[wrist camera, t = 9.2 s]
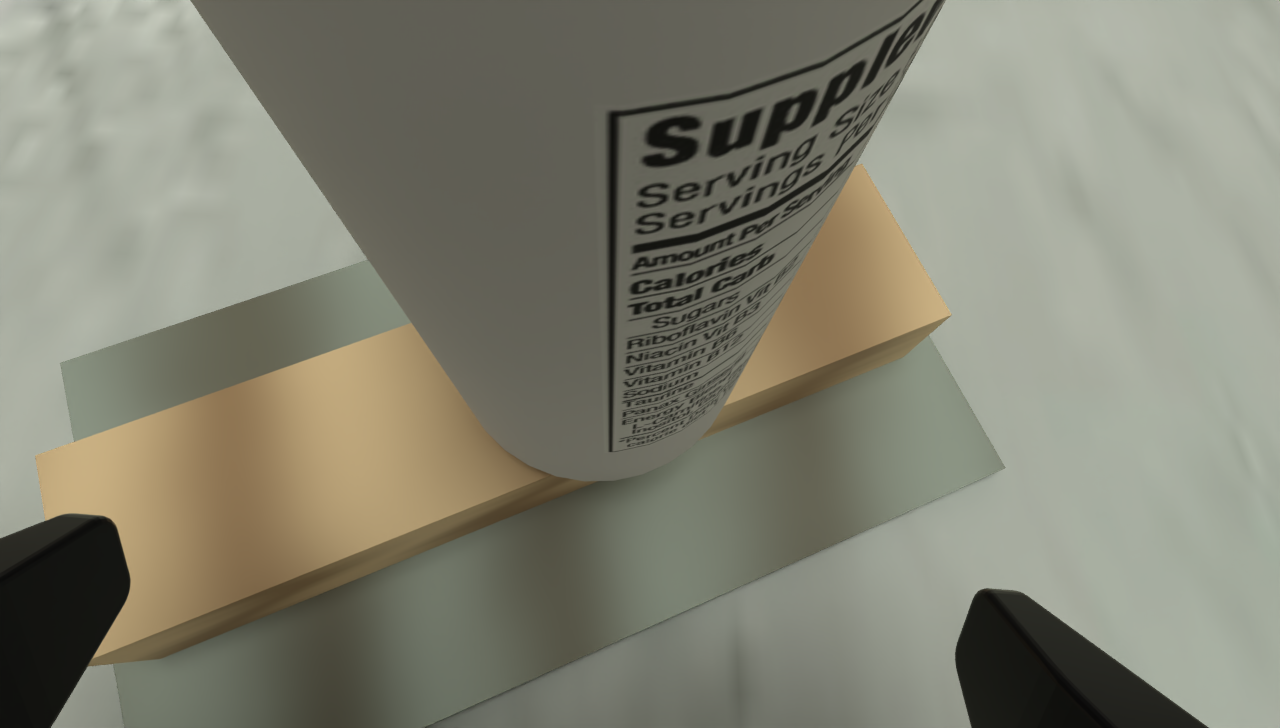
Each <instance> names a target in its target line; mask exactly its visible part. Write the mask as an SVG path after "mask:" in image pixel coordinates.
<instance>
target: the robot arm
mask: <svg viewBox="0 0 1280 728" xmlns="http://www.w3.org/2000/svg"><path fill="white" fill-rule="evenodd" d="M130 584H131V578H130V573H129V569H128V566H127V562H126V558H125V555H124V551H123V547H122V544H121V540H120V536H119V533H118V529H117V527H116V524H115V523H114V522H113V521H112V520H111V519H110V518H108V517H105V516H101V515H89V514H77V513H68V514H62V515H59V516H56V517H54V518H51V519H49V520H46V521H44V522H41V523H38V524H36V525H33V526H31V527H28V528H26V529H23V530H21V531H18V532H16V533H13V534H10V535H8V536H5V537H3V538H0V728H51V726H52V725H53V723H54V722H55V720H56V718H57V717H58V715H59V713H60V712H61V710H62V708H63V707H64V705H65V703H66V702H67V700H68V698H69V697H70V695H71V693H72V691H73V690H74V688H75V686H76V685H77V683H78V681H79V680H80V678H81V676H82V675H83V673H84V671H85V670H86V668H87V666H88V665H89V663H90V661H91V660H92V658H93V656H94V655H95V653H96V651H97V650H98V648H99V646H100V644H101V643H102V641H103V639H104V638H105V636H106V634H107V633H108V631H109V629H110V628H111V626H112V624H113V623H114V621H115V619H116V618H117V616H118V614H119V613H120V611H121V609H122V608H123V606H124V604H125V602H126V600H127V597H128V594H129V591H130ZM955 662H956V669H957V673H958V677H959V681H960V685H961V689H962V693H963V697H964V700H965V704H966V708H967V712H968V716H969V720H970V724H971V727H972V728H1208V727H1207V726H1206V725H1204V724H1203V723H1202V722H1200V721H1199V720H1197V719H1196V718H1195V717H1193V716H1192V715H1191V714H1189V713H1188V712H1186V711H1185V710H1184V709H1182V708H1181V707H1180V706H1178V705H1177V704H1175V703H1174V702H1173V701H1171V700H1170V699H1169V698H1167V697H1166V696H1164V695H1163V694H1162V693H1160V692H1159V691H1158V690H1156V689H1155V688H1153V687H1152V686H1151V685H1149V684H1148V683H1146V682H1145V681H1144V680H1142V679H1141V678H1140V677H1138V676H1137V675H1135V674H1134V673H1133V672H1131V671H1130V670H1129V669H1127V668H1126V667H1124V666H1123V665H1122V664H1120V663H1119V662H1118V661H1116V660H1115V659H1113V658H1112V657H1111V656H1109V655H1108V654H1107V653H1105V652H1104V651H1102V650H1101V649H1100V648H1098V647H1097V646H1096V645H1094V644H1093V643H1091V642H1090V641H1089V640H1087V639H1086V638H1085V637H1083V636H1082V635H1080V634H1079V633H1078V632H1076V631H1075V630H1074V629H1072V628H1071V627H1069V626H1068V625H1067V624H1065V623H1064V622H1063V621H1061V620H1060V619H1058V618H1057V617H1056V616H1054V615H1053V614H1052V613H1050V612H1049V611H1047V610H1046V609H1045V608H1043V607H1042V606H1041V605H1039V604H1038V603H1036V602H1035V601H1034V600H1032V599H1031V598H1030V597H1028V596H1027V595H1025V594H1024V593H1021V592H1018V591H1013V590H1001V589H989V588H986V589H982V590H980V591H978V592H977V593H976V595H975V596H974V598H973V600H972V603H971V606H970V609H969V611H968V614H967V617H966V620H965V622H964V625H963V628H962V631H961V634H960V636H959V639H958V642H957V646H956V652H955Z"/></svg>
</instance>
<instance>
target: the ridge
mask: <svg viewBox="0 0 1280 728" xmlns="http://www.w3.org/2000/svg"><path fill="white" fill-rule="evenodd" d="M950 316H951V313H950V311H949V309H948V308H947V306H946V304H945V303H944V301H943V299H942V298H941V296H940V294H939V293H938V291H937V289H936V288H935V286H934V284H933V282H932V281H931V279H930V277H929V276H928V274H927V272H926V271H925V269H924V267H923V266H922V264H921V262H920V261H919V259H918V257H917V256H916V254H915V252H914V250H913V249H912V247H911V245H910V244H909V242H908V240H907V239H906V237H905V235H904V234H903V232H902V230H901V229H900V227H899V225H898V223H897V222H896V220H895V218H894V217H893V215H892V213H891V212H890V210H889V208H888V207H887V205H886V203H885V202H884V200H883V198H882V196H881V195H880V193H879V191H878V190H877V188H876V186H875V185H874V183H873V181H872V180H871V178H870V176H869V175H868V173H867V171H866V169H865V168H864V166H863V164H860V165H857V166H855V167H854V169H853V171H852V173H851V174H850V176H849V178H848V180H847V182H846V184H845V185H844V187H843V189H842V191H841V193H840V195H839V196H838V198H837V200H836V202H835V204H834V205H833V207H832V209H831V211H830V213H829V215H828V216H827V218H826V220H825V222H824V224H823V226H822V227H821V229H820V231H819V233H818V235H817V237H816V238H815V240H814V242H813V244H812V246H811V248H810V249H809V251H808V253H807V255H806V257H805V258H804V260H803V262H802V264H801V266H800V268H799V269H798V271H797V273H796V275H795V277H794V279H793V280H792V282H791V284H790V286H789V288H788V290H787V291H786V293H785V295H784V297H783V299H782V301H781V302H780V304H779V306H778V308H777V310H776V311H775V313H774V315H773V317H772V319H771V321H770V322H769V324H768V326H767V328H766V330H765V332H764V333H763V335H762V337H761V339H760V341H759V343H758V344H757V346H756V348H755V350H754V352H753V354H752V355H751V357H750V359H749V361H748V363H747V364H746V366H745V368H744V370H743V372H742V374H741V375H740V377H739V379H738V381H737V383H736V385H735V386H734V388H733V390H732V392H731V394H730V396H729V397H728V399H727V401H726V403H725V405H724V406H723V408H722V409H721V411H720V413H719V414H718V416H717V418H716V419H715V421H714V422H713V424H712V426H711V427H710V428H709V429H708V430H707V431H706V432H705V433H704V435H703V436H702V437H701V438H700V439H699V440H698V441H697V442H696V443H695V444H694V445H693V446H692V447H691V448H689V449H688V450H687V451H685V452H684V453H682V454H681V455H679V456H678V457H677V458H675V459H674V460H672V461H671V462H669V463H668V464H665V465H663V466H661V467H658V468H656V469H654V470H652V471H649V472H647V473H645V474H642V475H638V476H633V477H629V478H624V479H620V480H615V481H580V480H574V479H569V478H563V477H557V476H554V475H551V474H549V473H546V472H544V471H541V470H539V469H536V468H534V467H531V466H529V465H527V464H526V463H524V462H522V461H521V460H519V459H518V458H516V457H515V456H513V455H512V454H510V453H509V452H507V451H506V450H504V449H503V448H502V447H501V446H500V445H499V444H498V443H497V442H496V441H495V440H494V439H493V438H492V437H491V436H490V435H489V434H488V433H487V432H486V431H485V430H484V428H483V427H482V425H481V424H480V422H479V421H478V419H477V418H476V416H475V415H474V413H473V412H472V411H471V409H470V408H469V406H468V405H467V403H466V402H465V400H464V399H463V397H462V396H461V395H460V393H459V392H458V390H457V389H456V387H455V386H454V384H453V383H452V381H451V380H450V378H449V377H448V376H447V374H446V373H445V371H444V370H443V368H442V367H441V365H440V364H439V362H438V361H437V359H436V358H435V357H434V355H433V354H432V352H431V351H430V349H429V348H428V346H427V345H426V343H425V342H424V341H423V339H422V338H421V336H420V335H419V333H418V332H417V330H416V329H415V327H414V326H413V324H412V323H411V322H410V320H409V319H408V317H407V316H406V314H405V313H404V311H403V310H402V308H401V307H400V305H399V304H398V303H397V301H396V300H395V298H394V297H393V295H392V294H391V292H390V291H389V289H388V288H387V287H386V285H385V284H384V282H383V281H382V279H381V278H380V276H379V275H378V273H377V272H376V270H375V269H374V268H373V266H372V265H371V263H370V262H369V260H366V261H363V262H360V263H357V264H354V265H351V266H348V267H345V268H342V269H339V270H336V271H333V272H330V273H327V274H324V275H321V276H318V277H315V278H312V279H309V280H306V281H303V282H300V283H297V284H294V285H291V286H288V287H285V288H282V289H280V290H277V291H274V292H271V293H268V294H265V295H262V296H259V297H256V298H253V299H250V300H247V301H244V302H241V303H238V304H235V305H232V306H229V307H226V308H223V309H220V310H217V311H214V312H211V313H208V314H205V315H202V316H199V317H196V318H193V319H190V320H187V321H184V322H181V323H178V324H175V325H172V326H169V327H166V328H163V329H160V330H157V331H154V332H151V333H148V334H145V335H142V336H139V337H136V338H133V339H130V340H128V341H125V342H122V343H119V344H116V345H113V346H110V347H107V348H104V349H101V350H98V351H95V352H92V353H89V354H86V355H83V356H80V357H77V358H74V359H71V360H68V361H65V362H62V363H60V365H61V370H62V376H63V382H64V387H65V393H66V399H67V404H68V410H69V416H70V421H71V427H72V433H73V438H74V442H72V443H70V444H67V445H64V446H61V447H58V448H55V449H53V450H50V451H47V452H44V453H41V454H38V455H36V456H35V457H36V464H37V470H38V476H39V483H40V489H41V495H42V502H43V508H44V514H45V521H46V520H49V519H51V518H54V517H56V516H59V515H62V514H68V513H77V514H89V515H101V516H105V517H108V518H110V519H111V520H112V521H113V522H114V523H115V524H116V527H117V529H118V533H119V536H120V540H121V544H122V547H123V551H124V555H125V558H126V562H127V566H128V569H129V573H130V578H131V584H130V591H129V594H128V597H127V600H126V602H125V604H124V606H123V608H122V609H121V611H120V613H119V614H118V616H117V618H116V619H115V621H114V623H113V624H112V626H111V628H110V629H109V631H108V633H107V634H106V636H105V638H104V639H103V641H102V643H101V644H100V646H99V648H98V650H97V651H96V653H95V655H94V656H93V658H92V660H91V661H90V663H89V665H88V666H97V665H106V664H113V665H114V671H115V676H116V682H117V688H118V693H119V699H120V705H121V710H122V716H123V722H124V727H125V728H424V727H426V726H429V725H431V724H433V723H435V722H438V721H440V720H442V719H444V718H447V717H449V716H451V715H453V714H456V713H458V712H460V711H462V710H465V709H467V708H469V707H471V706H473V705H476V704H478V703H480V702H482V701H485V700H487V699H489V698H491V697H494V696H496V695H498V694H500V693H503V692H505V691H507V690H509V689H512V688H514V687H516V686H518V685H521V684H523V683H525V682H527V681H530V680H532V679H534V678H536V677H538V676H541V675H543V674H545V673H547V672H550V671H552V670H554V669H556V668H559V667H561V666H563V665H565V664H568V663H570V662H572V661H574V660H577V659H579V658H581V657H583V656H586V655H588V654H590V653H592V652H595V651H597V650H599V649H601V648H603V647H606V646H608V645H610V644H612V643H615V642H617V641H619V640H621V639H624V638H626V637H628V636H630V635H633V634H635V633H637V632H639V631H642V630H644V629H646V628H648V627H651V626H653V625H655V624H657V623H660V622H662V621H664V620H666V619H668V618H671V617H673V616H675V615H677V614H680V613H682V612H684V611H686V610H689V609H691V608H693V607H695V606H698V605H700V604H702V603H704V602H707V601H709V600H711V599H713V598H716V597H718V596H720V595H722V594H724V593H727V592H729V591H731V590H733V589H736V588H738V587H740V586H742V585H745V584H747V583H749V582H751V581H754V580H756V579H758V578H760V577H763V576H765V575H767V574H769V573H772V572H774V571H776V570H778V569H781V568H783V567H785V566H787V565H789V564H792V563H794V562H796V561H798V560H801V559H803V558H805V557H807V556H810V555H812V554H814V553H816V552H819V551H821V550H823V549H825V548H828V547H830V546H832V545H834V544H837V543H839V542H841V541H843V540H846V539H848V538H850V537H852V536H854V535H857V534H859V533H861V532H863V531H866V530H868V529H870V528H872V527H875V526H877V525H879V524H881V523H884V522H886V521H888V520H890V519H893V518H895V517H897V516H899V515H902V514H904V513H906V512H908V511H911V510H913V509H915V508H917V507H919V506H922V505H924V504H926V503H928V502H931V501H933V500H935V499H937V498H940V497H942V496H944V495H946V494H949V493H951V492H953V491H955V490H958V489H960V488H962V487H964V486H967V485H969V484H971V483H973V482H976V481H978V480H980V479H982V478H984V477H987V476H989V475H991V474H993V473H996V472H998V471H1000V470H1002V469H1005V466H1004V465H1003V463H1002V461H1001V459H1000V458H999V456H998V454H997V452H996V451H995V449H994V447H993V445H992V444H991V442H990V440H989V439H988V437H987V435H986V433H985V432H984V430H983V428H982V426H981V425H980V423H979V421H978V419H977V418H976V416H975V414H974V413H973V411H972V409H971V407H970V406H969V404H968V402H967V400H966V399H965V397H964V395H963V393H962V392H961V390H960V388H959V387H958V385H957V383H956V381H955V380H954V378H953V376H952V374H951V373H950V371H949V369H948V367H947V366H946V364H945V362H944V361H943V359H942V357H941V355H940V354H939V352H938V350H937V348H936V347H935V345H934V343H933V341H932V340H931V338H930V336H929V334H930V333H932V332H933V331H934V330H935V329H936V328H937V327H938V326H940V325H941V324H942V323H943V322H944V321H945V320H946V319H948V318H949V317H950Z"/></svg>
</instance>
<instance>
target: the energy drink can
mask: <svg viewBox="0 0 1280 728" xmlns="http://www.w3.org/2000/svg"><path fill="white" fill-rule="evenodd" d="M945 1H946V0H191V2H192V3H193V5H194V6H195V8H196V9H197V11H198V12H199V14H200V15H201V16H202V18H203V19H204V21H205V22H206V24H207V25H208V27H209V28H210V30H211V31H212V33H213V34H214V35H215V37H216V38H217V40H218V41H219V43H220V44H221V46H222V47H223V49H224V50H225V52H226V53H227V54H228V56H229V57H230V59H231V60H232V62H233V63H234V65H235V66H236V68H237V69H238V70H239V72H240V73H241V75H242V76H243V78H244V79H245V81H246V82H247V84H248V85H249V87H250V88H251V89H252V91H253V92H254V94H255V95H256V97H257V98H258V100H259V101H260V103H261V104H262V106H263V107H264V108H265V110H266V111H267V113H268V114H269V116H270V117H271V119H272V120H273V122H274V123H275V125H276V126H277V127H278V129H279V130H280V132H281V133H282V135H283V136H284V138H285V139H286V141H287V142H288V143H289V145H290V146H291V148H292V149H293V151H294V152H295V154H296V155H297V157H298V158H299V160H300V161H301V162H302V164H303V165H304V167H305V168H306V170H307V171H308V173H309V174H310V176H311V177H312V179H313V180H314V181H315V183H316V184H317V186H318V187H319V189H320V190H321V192H322V193H323V195H324V196H325V197H326V199H327V200H328V202H329V203H330V205H331V206H332V208H333V209H334V211H335V212H336V214H337V215H338V216H339V218H340V219H341V221H342V222H343V224H344V225H345V227H346V228H347V230H348V231H349V233H350V234H351V235H352V237H353V238H354V240H355V241H356V243H357V244H358V246H359V247H360V249H361V250H362V251H363V253H364V254H365V256H366V257H367V259H368V260H369V262H370V263H371V265H372V266H373V268H374V269H375V270H376V272H377V273H378V275H379V276H380V278H381V279H382V281H383V282H384V284H385V285H386V287H387V288H388V289H389V291H390V292H391V294H392V295H393V297H394V298H395V300H396V301H397V303H398V304H399V305H400V307H401V308H402V310H403V311H404V313H405V314H406V316H407V317H408V319H409V320H410V322H411V323H412V324H413V326H414V327H415V329H416V330H417V332H418V333H419V335H420V336H421V338H422V339H423V341H424V342H425V343H426V345H427V346H428V348H429V349H430V351H431V352H432V354H433V355H434V357H435V358H436V359H437V361H438V362H439V364H440V365H441V367H442V368H443V370H444V371H445V373H446V374H447V376H448V377H449V378H450V380H451V381H452V383H453V384H454V386H455V387H456V389H457V390H458V392H459V393H460V395H461V396H462V397H463V399H464V400H465V402H466V403H467V405H468V406H469V408H470V409H471V411H472V412H473V413H474V415H475V416H476V418H477V419H478V421H479V422H480V424H481V425H482V427H483V428H484V430H485V431H486V432H487V433H488V434H489V435H490V436H491V437H492V438H493V439H494V440H495V441H496V442H497V443H498V444H499V445H500V446H501V447H502V448H503V449H504V450H506V451H507V452H509V453H510V454H512V455H513V456H515V457H516V458H518V459H519V460H521V461H522V462H524V463H526V464H527V465H529V466H531V467H534V468H536V469H539V470H541V471H544V472H546V473H549V474H551V475H554V476H557V477H563V478H569V479H574V480H580V481H615V480H620V479H624V478H629V477H633V476H638V475H642V474H645V473H647V472H649V471H652V470H654V469H656V468H658V467H661V466H663V465H665V464H668V463H669V462H671V461H672V460H674V459H675V458H677V457H678V456H679V455H681V454H682V453H684V452H685V451H687V450H688V449H689V448H691V447H692V446H693V445H694V444H695V443H696V442H697V441H698V440H699V439H700V438H701V437H702V436H703V435H704V433H705V432H706V431H707V430H708V429H709V428H710V427H711V426H712V424H713V422H714V421H715V419H716V418H717V416H718V414H719V413H720V411H721V409H722V408H723V406H724V405H725V403H726V401H727V399H728V397H729V396H730V394H731V392H732V390H733V388H734V386H735V385H736V383H737V381H738V379H739V377H740V375H741V374H742V372H743V370H744V368H745V366H746V364H747V363H748V361H749V359H750V357H751V355H752V354H753V352H754V350H755V348H756V346H757V344H758V343H759V341H760V339H761V337H762V335H763V333H764V332H765V330H766V328H767V326H768V324H769V322H770V321H771V319H772V317H773V315H774V313H775V311H776V310H777V308H778V306H779V304H780V302H781V301H782V299H783V297H784V295H785V293H786V291H787V290H788V288H789V286H790V284H791V282H792V280H793V279H794V277H795V275H796V273H797V271H798V269H799V268H800V266H801V264H802V262H803V260H804V258H805V257H806V255H807V253H808V251H809V249H810V248H811V246H812V244H813V242H814V240H815V238H816V237H817V235H818V233H819V231H820V229H821V227H822V226H823V224H824V222H825V220H826V218H827V216H828V215H829V213H830V211H831V209H832V207H833V205H834V204H835V202H836V200H837V198H838V196H839V195H840V193H841V191H842V189H843V187H844V185H845V184H846V182H847V180H848V178H849V176H850V174H851V173H852V171H853V169H854V167H855V165H856V163H857V162H858V160H859V158H860V156H861V154H862V152H863V151H864V149H865V147H866V145H867V143H868V142H869V140H870V138H871V136H872V134H873V132H874V131H875V129H876V127H877V125H878V123H879V121H880V120H881V118H882V116H883V114H884V112H885V110H886V109H887V107H888V105H889V103H890V101H891V100H892V98H893V96H894V94H895V92H896V90H897V89H898V87H899V85H900V83H901V81H902V79H903V78H904V76H905V74H906V72H907V70H908V68H909V67H910V65H911V63H912V61H913V59H914V57H915V56H916V54H917V52H918V50H919V48H920V47H921V45H922V43H923V41H924V39H925V37H926V36H927V34H928V32H929V30H930V28H931V26H932V25H933V23H934V21H935V19H936V17H937V15H938V14H939V12H940V10H941V8H942V6H943V4H944V3H945Z"/></svg>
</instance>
